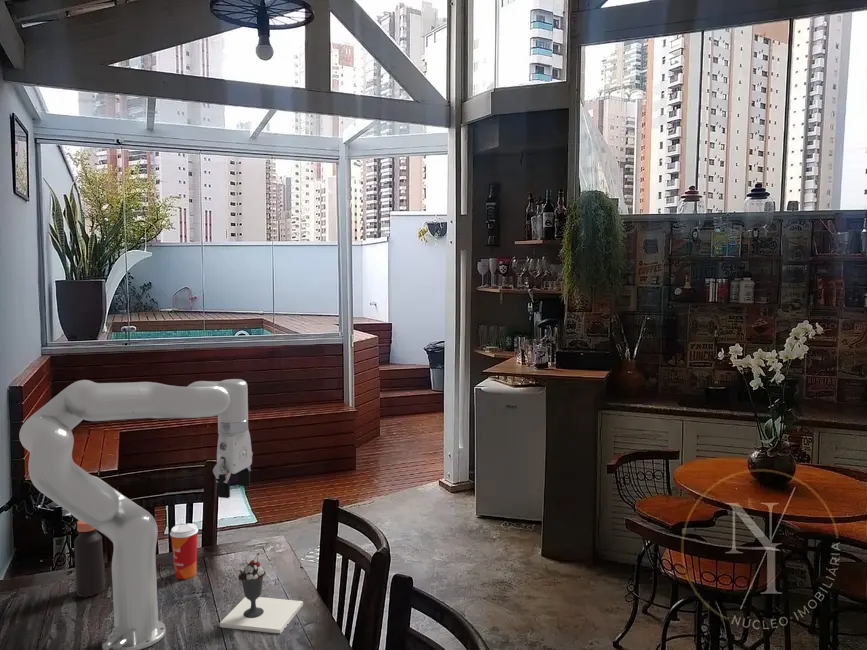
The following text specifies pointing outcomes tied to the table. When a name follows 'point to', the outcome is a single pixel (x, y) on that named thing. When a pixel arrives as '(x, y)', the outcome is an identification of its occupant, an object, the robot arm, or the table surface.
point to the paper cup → (184, 550)
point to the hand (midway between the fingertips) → (234, 491)
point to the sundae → (252, 586)
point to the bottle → (88, 560)
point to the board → (263, 615)
